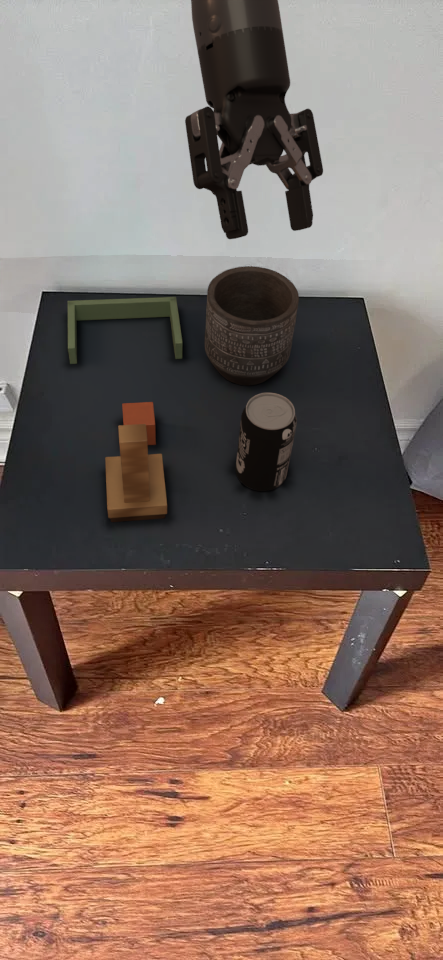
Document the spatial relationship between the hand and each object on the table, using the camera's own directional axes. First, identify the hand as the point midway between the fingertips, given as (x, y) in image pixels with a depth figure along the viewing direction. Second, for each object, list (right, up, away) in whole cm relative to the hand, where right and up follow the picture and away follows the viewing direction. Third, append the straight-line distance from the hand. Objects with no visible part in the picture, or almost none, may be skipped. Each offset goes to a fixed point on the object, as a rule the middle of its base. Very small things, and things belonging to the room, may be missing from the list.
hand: (271, 233), depth 69 cm
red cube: (-15, -17, +30) cm, 38 cm away
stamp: (-15, -25, +24) cm, 38 cm away
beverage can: (0, -22, +28) cm, 35 cm away
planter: (-1, -6, +40) cm, 40 cm away
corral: (-19, -2, +42) cm, 46 cm away
